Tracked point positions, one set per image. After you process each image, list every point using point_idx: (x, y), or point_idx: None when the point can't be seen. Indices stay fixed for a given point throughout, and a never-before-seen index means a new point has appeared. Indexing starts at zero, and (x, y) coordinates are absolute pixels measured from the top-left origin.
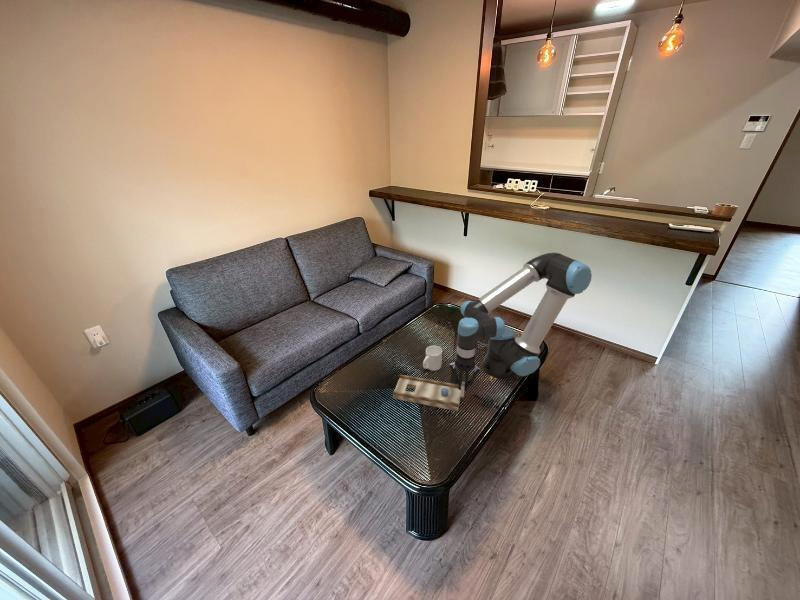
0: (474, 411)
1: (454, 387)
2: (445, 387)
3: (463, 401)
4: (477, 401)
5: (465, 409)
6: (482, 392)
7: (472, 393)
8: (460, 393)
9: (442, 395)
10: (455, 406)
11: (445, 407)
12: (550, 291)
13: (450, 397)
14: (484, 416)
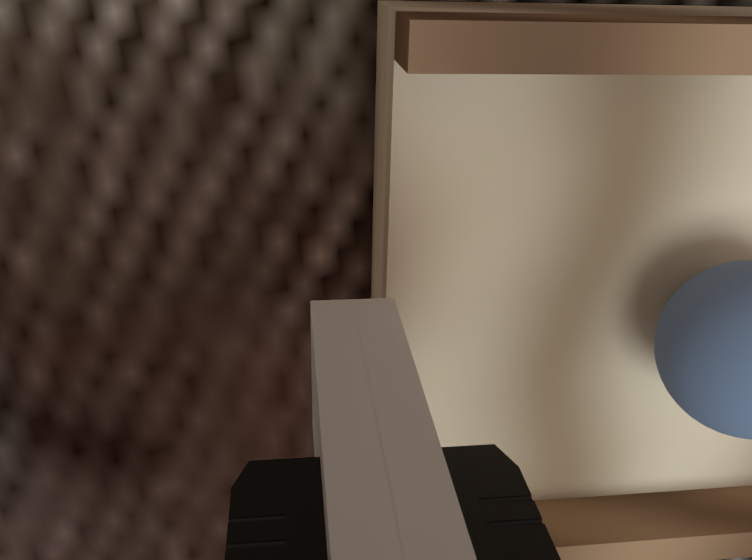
0: (39, 86)
1: None
2: (673, 462)
3: (302, 279)
4: (45, 346)
5: (235, 93)
6: (12, 544)
7: (174, 482)
8: None
9: None
10: (474, 11)
11: (661, 6)
12: None
13: (586, 257)
14: None
